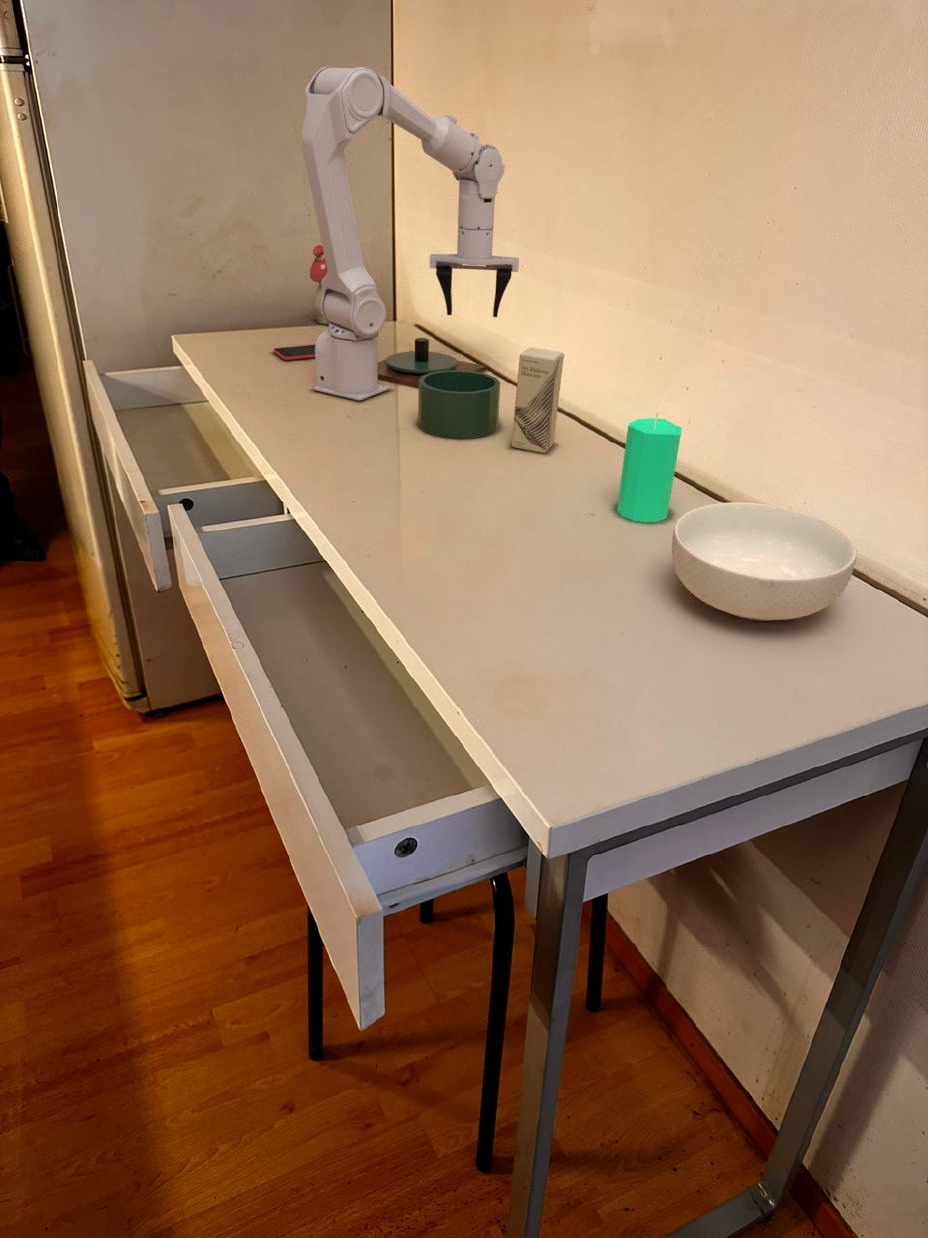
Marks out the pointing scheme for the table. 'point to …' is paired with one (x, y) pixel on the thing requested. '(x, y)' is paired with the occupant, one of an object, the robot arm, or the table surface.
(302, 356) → the smartphone
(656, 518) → the candle
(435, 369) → the lid
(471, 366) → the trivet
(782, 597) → the cereal bowl
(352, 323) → the robot arm
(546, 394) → the box
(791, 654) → the table surface
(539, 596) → the table surface
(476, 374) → the pot
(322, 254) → the decorative ornament
